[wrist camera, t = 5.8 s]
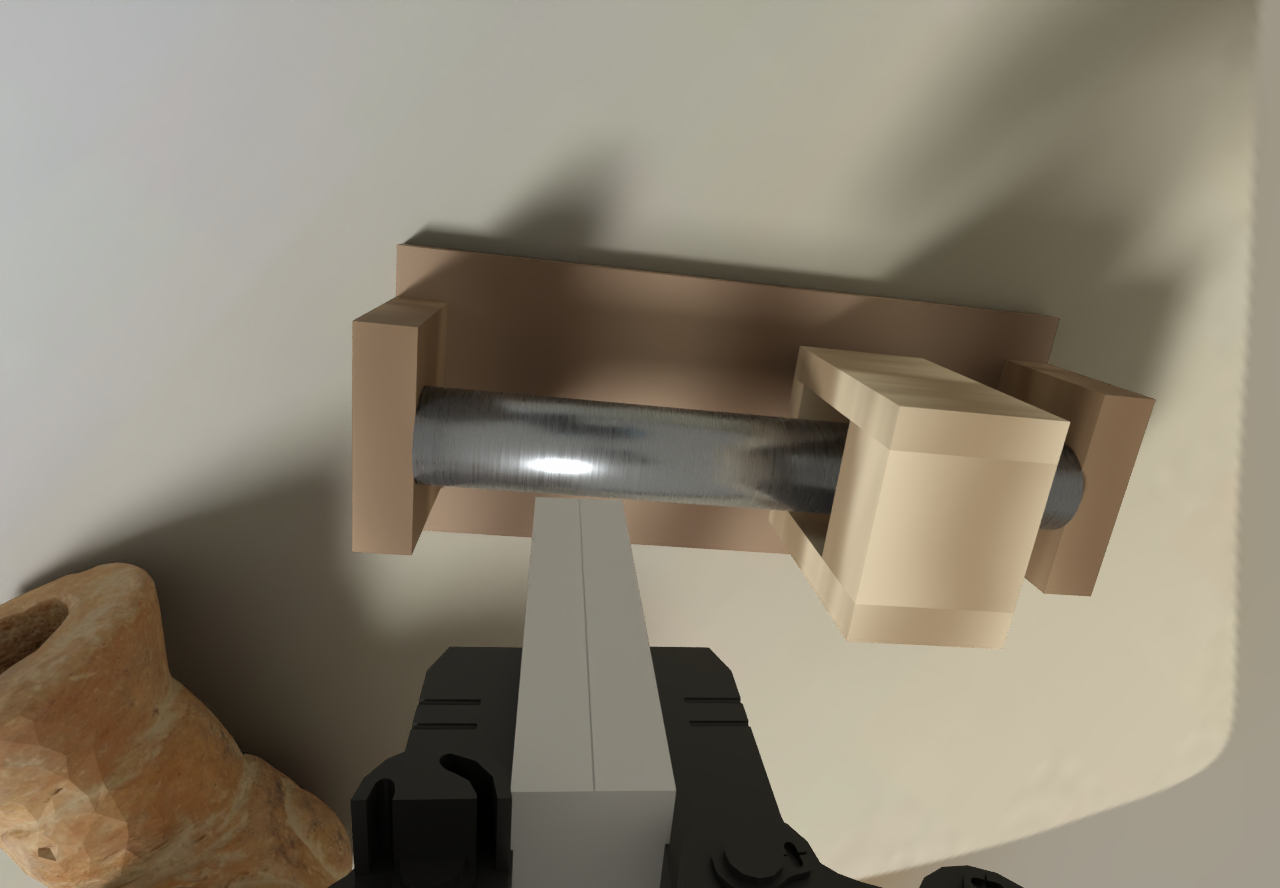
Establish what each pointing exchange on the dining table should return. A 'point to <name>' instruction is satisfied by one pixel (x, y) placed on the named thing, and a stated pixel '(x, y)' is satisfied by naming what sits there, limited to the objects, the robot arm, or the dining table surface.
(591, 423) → the rod
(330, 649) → the dining table surface
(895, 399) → the collar
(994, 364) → the cradle
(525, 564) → the dining table surface
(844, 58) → the dining table surface
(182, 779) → the pipe
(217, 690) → the dining table surface
